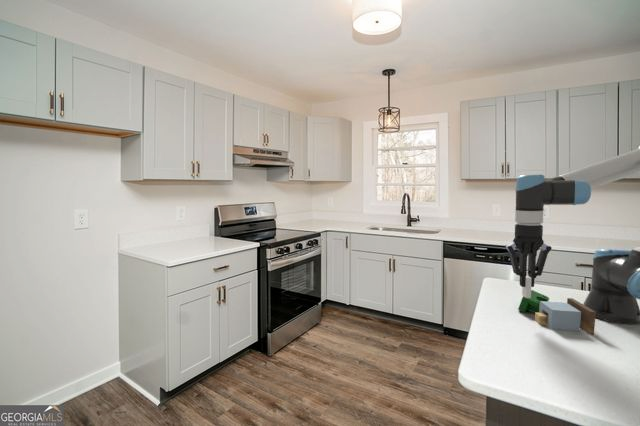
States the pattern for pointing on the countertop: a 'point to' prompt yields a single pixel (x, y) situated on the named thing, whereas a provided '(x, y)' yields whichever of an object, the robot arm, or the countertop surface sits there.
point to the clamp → (532, 302)
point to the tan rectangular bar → (541, 318)
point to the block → (561, 315)
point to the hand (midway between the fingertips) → (526, 296)
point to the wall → (584, 316)
